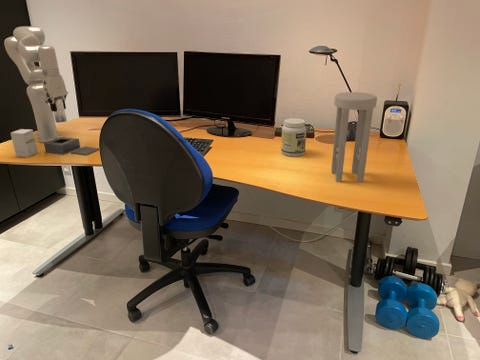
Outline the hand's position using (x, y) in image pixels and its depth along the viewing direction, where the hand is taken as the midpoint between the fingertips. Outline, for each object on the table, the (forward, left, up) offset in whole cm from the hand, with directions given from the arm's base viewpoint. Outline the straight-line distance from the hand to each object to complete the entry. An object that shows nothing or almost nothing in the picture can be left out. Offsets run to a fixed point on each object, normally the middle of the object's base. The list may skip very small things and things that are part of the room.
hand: (58, 109), depth 189 cm
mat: (+11, +2, -22) cm, 24 cm away
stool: (+143, +13, -22) cm, 145 cm away
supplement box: (-14, -12, -22) cm, 29 cm away
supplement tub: (+114, +35, -22) cm, 121 cm away
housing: (-2, 0, -22) cm, 22 cm away
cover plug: (0, 0, -6) cm, 6 cm away
